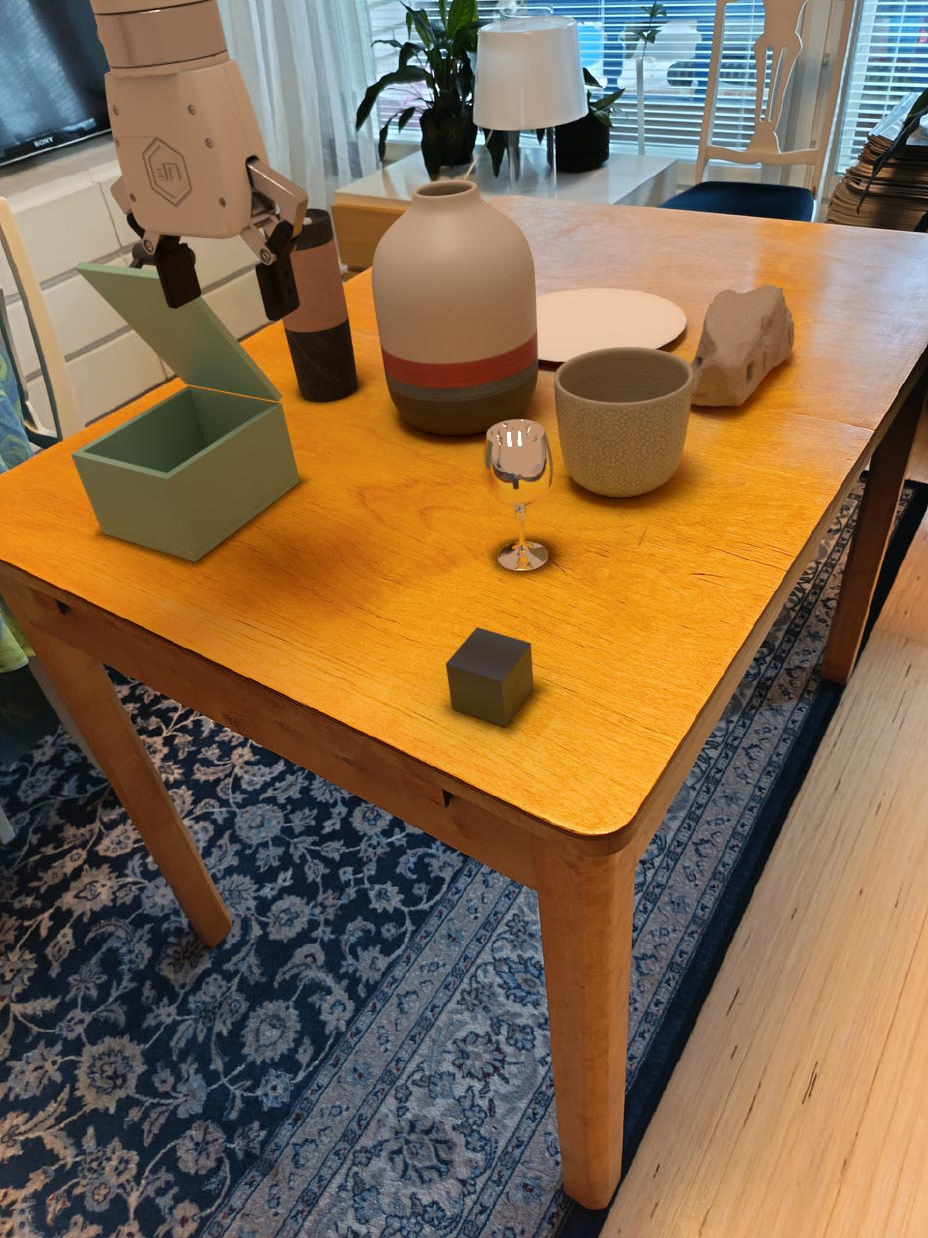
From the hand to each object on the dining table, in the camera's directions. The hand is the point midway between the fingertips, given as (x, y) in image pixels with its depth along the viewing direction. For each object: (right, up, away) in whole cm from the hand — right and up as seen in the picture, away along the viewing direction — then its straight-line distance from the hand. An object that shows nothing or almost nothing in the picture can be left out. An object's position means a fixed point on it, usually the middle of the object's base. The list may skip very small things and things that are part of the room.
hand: (233, 308), depth 68 cm
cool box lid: (-9, +2, +15) cm, 18 cm away
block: (+19, -29, -2) cm, 35 cm away
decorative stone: (+48, +3, +34) cm, 59 cm away
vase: (+18, 0, +35) cm, 39 cm away
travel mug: (+1, +5, +43) cm, 43 cm away
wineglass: (+23, -18, +12) cm, 31 cm away
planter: (+33, -10, +20) cm, 40 cm away
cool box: (-9, -12, +23) cm, 28 cm away
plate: (+33, +14, +50) cm, 61 cm away
